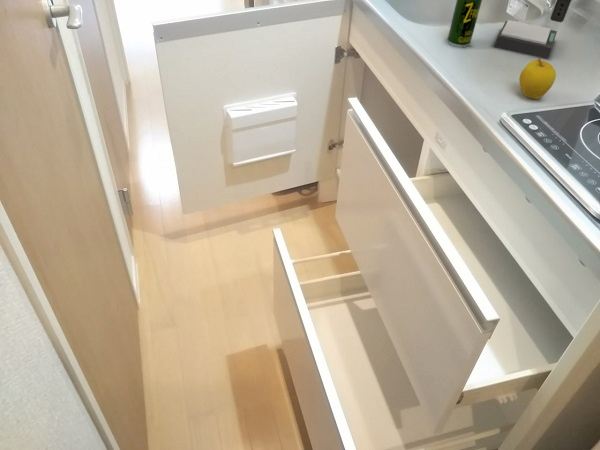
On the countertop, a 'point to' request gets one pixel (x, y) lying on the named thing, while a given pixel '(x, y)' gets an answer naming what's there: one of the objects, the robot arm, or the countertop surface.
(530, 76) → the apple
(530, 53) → the scale
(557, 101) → the countertop surface
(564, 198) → the countertop surface
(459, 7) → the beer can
